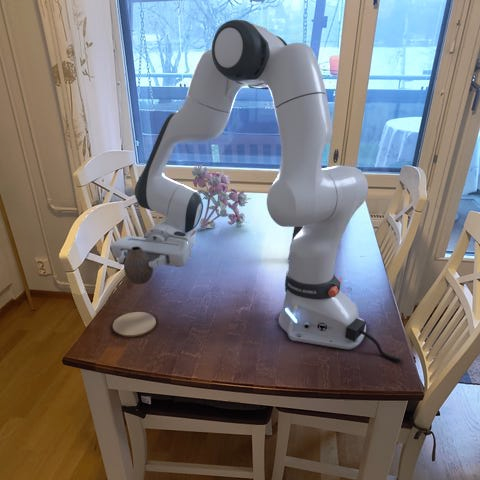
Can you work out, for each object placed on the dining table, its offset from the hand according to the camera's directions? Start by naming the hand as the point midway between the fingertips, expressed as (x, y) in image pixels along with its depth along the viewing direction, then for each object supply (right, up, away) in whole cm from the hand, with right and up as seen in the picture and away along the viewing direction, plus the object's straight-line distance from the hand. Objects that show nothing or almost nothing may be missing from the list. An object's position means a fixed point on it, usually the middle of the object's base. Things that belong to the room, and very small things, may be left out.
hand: (136, 264), depth 103 cm
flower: (+19, +24, +68) cm, 75 cm away
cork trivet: (-2, -15, +8) cm, 17 cm away
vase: (0, -4, +4) cm, 5 cm away
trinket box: (+4, +11, +48) cm, 50 cm away
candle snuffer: (+44, +5, +44) cm, 62 cm away
